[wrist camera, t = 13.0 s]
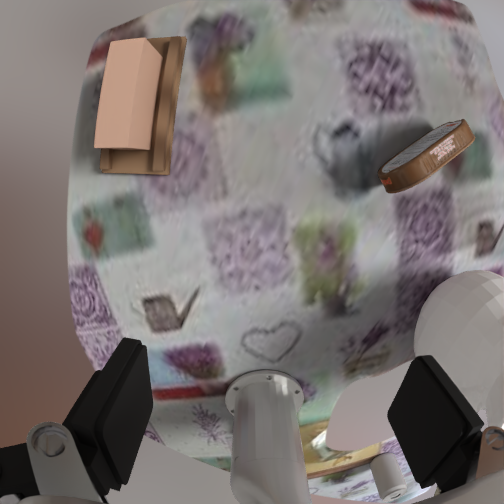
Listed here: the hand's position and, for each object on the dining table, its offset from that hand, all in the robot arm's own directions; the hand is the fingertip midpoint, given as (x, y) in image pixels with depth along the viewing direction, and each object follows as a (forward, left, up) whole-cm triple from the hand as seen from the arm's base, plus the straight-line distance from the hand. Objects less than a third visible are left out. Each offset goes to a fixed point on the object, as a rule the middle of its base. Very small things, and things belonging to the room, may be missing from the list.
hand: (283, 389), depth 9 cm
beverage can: (-51, -35, -28) cm, 68 cm away
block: (+14, +16, -27) cm, 35 cm away
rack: (+14, +16, -28) cm, 35 cm away
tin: (+12, -19, -29) cm, 36 cm away
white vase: (-10, -31, -28) cm, 43 cm away
